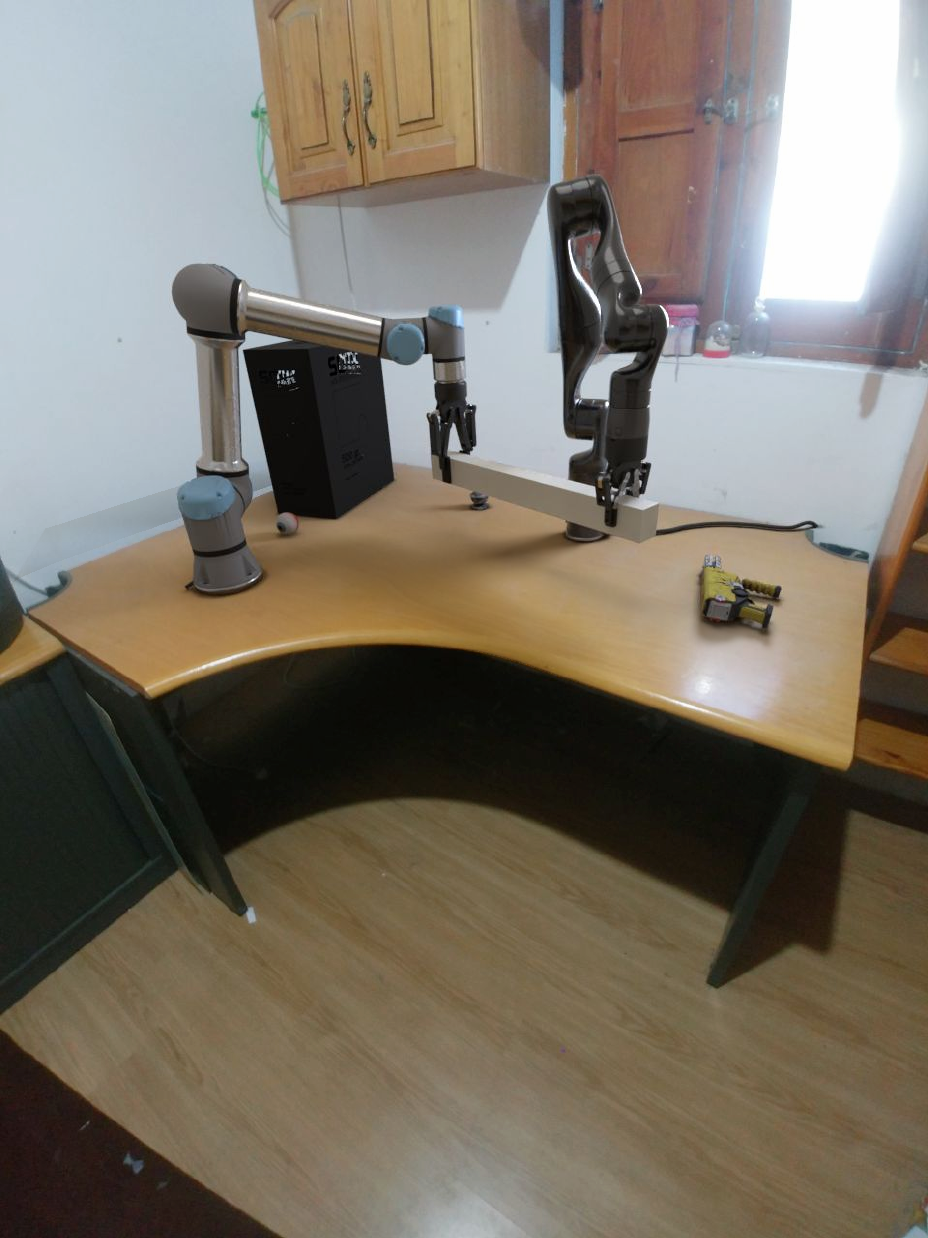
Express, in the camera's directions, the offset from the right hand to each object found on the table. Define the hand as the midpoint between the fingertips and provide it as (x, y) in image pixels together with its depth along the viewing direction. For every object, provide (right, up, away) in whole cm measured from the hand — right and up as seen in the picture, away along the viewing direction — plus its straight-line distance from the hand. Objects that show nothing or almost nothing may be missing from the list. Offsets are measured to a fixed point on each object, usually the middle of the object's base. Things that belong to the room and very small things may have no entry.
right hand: (619, 521), depth 115 cm
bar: (-16, +7, +18) cm, 25 cm away
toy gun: (+26, -15, +6) cm, 30 cm away
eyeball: (-78, +4, +50) cm, 92 cm away
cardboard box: (-69, +21, +77) cm, 106 cm away
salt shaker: (-25, +14, +61) cm, 68 cm away
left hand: (-32, +16, +35) cm, 50 cm away
